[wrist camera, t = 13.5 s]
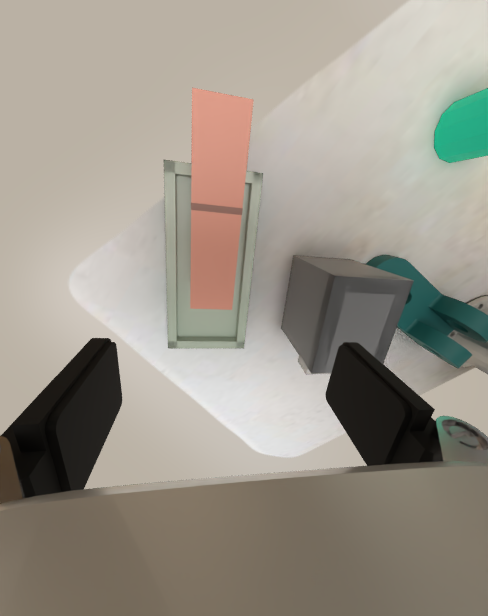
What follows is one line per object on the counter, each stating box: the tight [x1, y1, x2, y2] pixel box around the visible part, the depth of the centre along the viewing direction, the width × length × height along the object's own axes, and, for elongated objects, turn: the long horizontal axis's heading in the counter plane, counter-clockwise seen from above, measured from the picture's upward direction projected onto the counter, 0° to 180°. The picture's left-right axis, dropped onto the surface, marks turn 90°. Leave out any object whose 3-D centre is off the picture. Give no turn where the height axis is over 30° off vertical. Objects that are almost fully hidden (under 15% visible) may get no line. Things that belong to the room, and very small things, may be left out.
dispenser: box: [281, 255, 414, 375], centre depth 27 cm, size 11×8×10 cm
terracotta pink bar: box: [190, 88, 253, 310], centre depth 22 cm, size 4×16×6 cm, turn 174°
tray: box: [164, 160, 263, 348], centre depth 27 cm, size 9×20×2 cm, turn 174°
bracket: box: [366, 255, 488, 368], centre depth 31 cm, size 18×7×8 cm, turn 54°
